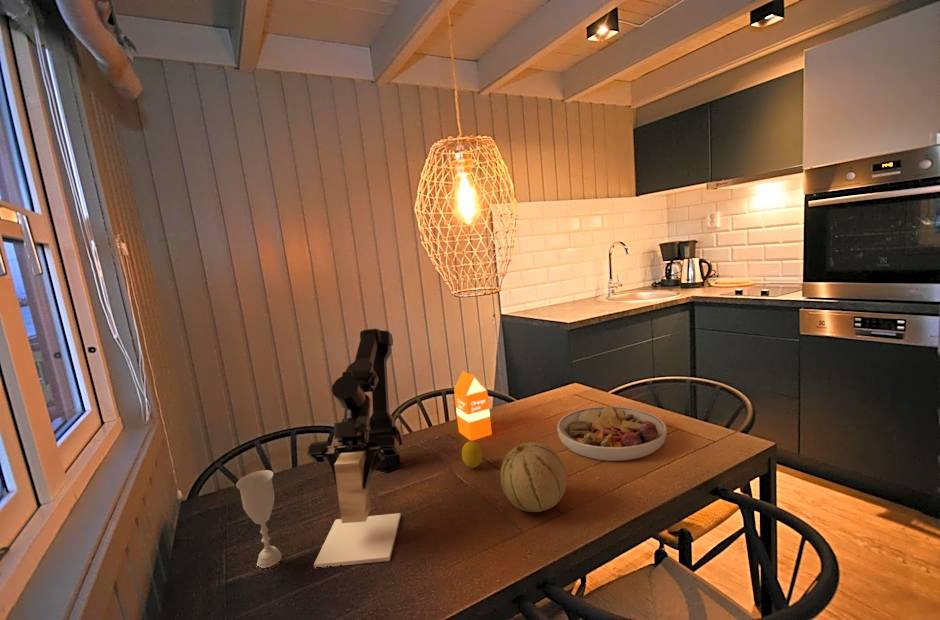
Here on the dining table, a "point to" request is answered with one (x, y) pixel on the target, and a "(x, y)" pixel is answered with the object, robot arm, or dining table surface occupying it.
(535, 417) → the dining table surface
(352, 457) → the wood block
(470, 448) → the lemon
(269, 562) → the chalice
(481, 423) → the orange juice
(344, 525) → the tile
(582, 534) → the dining table surface
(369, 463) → the robot arm
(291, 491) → the dining table surface
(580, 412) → the bowl
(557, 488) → the cantaloupe
